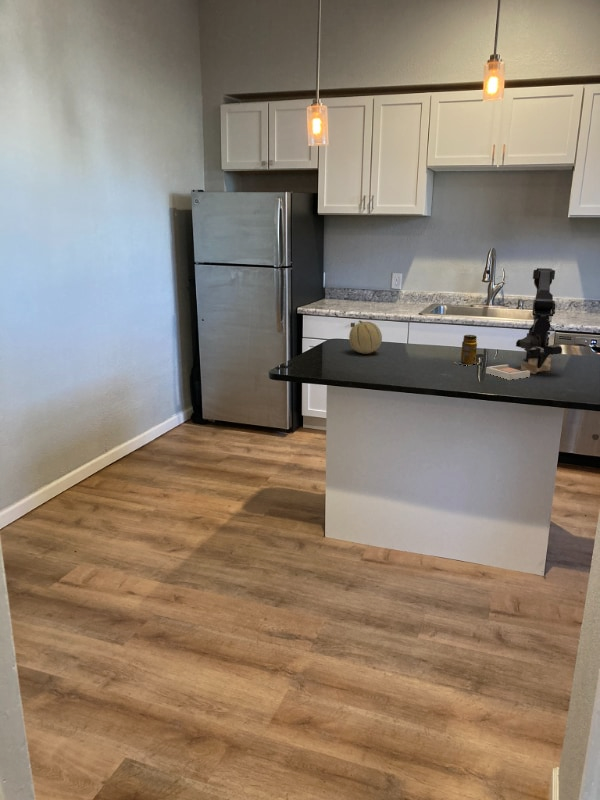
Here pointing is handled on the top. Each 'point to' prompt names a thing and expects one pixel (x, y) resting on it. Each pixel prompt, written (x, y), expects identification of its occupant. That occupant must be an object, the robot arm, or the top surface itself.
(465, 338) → the condiment
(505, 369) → the tile
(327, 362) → the top surface
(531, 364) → the scraper
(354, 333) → the cantaloupe
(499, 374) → the corral
